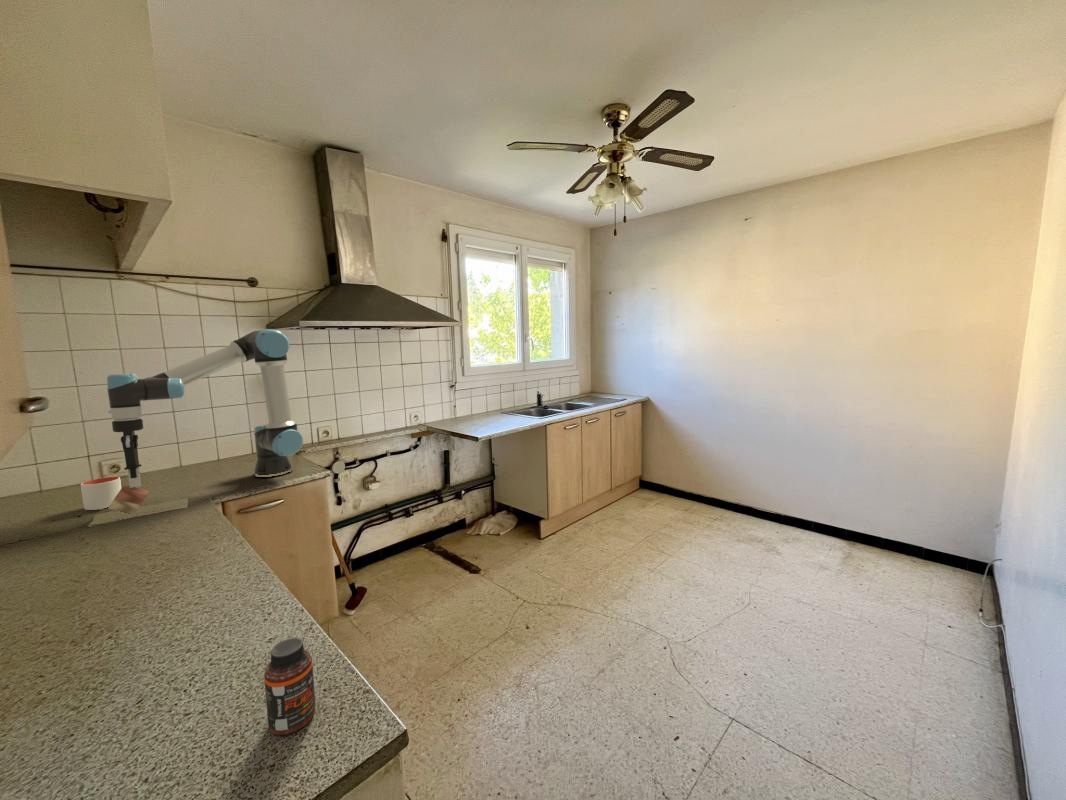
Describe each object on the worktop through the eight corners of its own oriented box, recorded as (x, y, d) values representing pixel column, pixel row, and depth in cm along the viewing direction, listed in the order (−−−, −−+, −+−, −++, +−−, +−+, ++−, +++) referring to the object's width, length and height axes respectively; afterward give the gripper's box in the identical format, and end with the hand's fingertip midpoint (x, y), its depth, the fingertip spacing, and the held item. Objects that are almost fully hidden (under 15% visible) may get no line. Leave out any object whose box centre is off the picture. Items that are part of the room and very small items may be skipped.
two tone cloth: (124, 484, 146) (111, 502, 144) (121, 488, 140) (108, 508, 138) (148, 490, 150) (136, 509, 148) (146, 495, 144) (133, 514, 142)
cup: (99, 512, 146) (95, 485, 145) (76, 511, 148) (72, 484, 147) (131, 502, 156) (127, 476, 155) (109, 502, 158) (105, 476, 157)
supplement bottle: (289, 744, 56) (281, 666, 55) (258, 730, 59) (251, 655, 57) (325, 709, 62) (319, 637, 61) (296, 697, 64) (290, 629, 63)
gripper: (114, 418, 145) (122, 484, 147) (108, 422, 135) (117, 493, 137) (143, 416, 150) (151, 480, 152) (140, 420, 140) (148, 488, 142)
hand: (135, 486), depth 145 cm, fingers closed
